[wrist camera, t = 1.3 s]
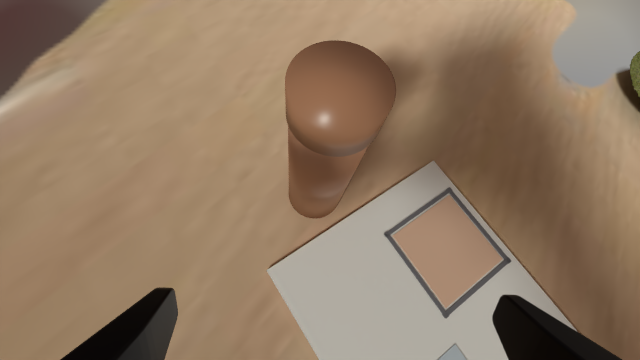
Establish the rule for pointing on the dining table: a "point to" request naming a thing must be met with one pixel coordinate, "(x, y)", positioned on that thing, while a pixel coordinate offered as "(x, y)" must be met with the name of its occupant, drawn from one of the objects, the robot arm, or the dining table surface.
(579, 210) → the dining table surface
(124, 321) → the robot arm
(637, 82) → the green disc
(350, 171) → the brown tall rounded cylinder
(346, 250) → the colouring sheet
